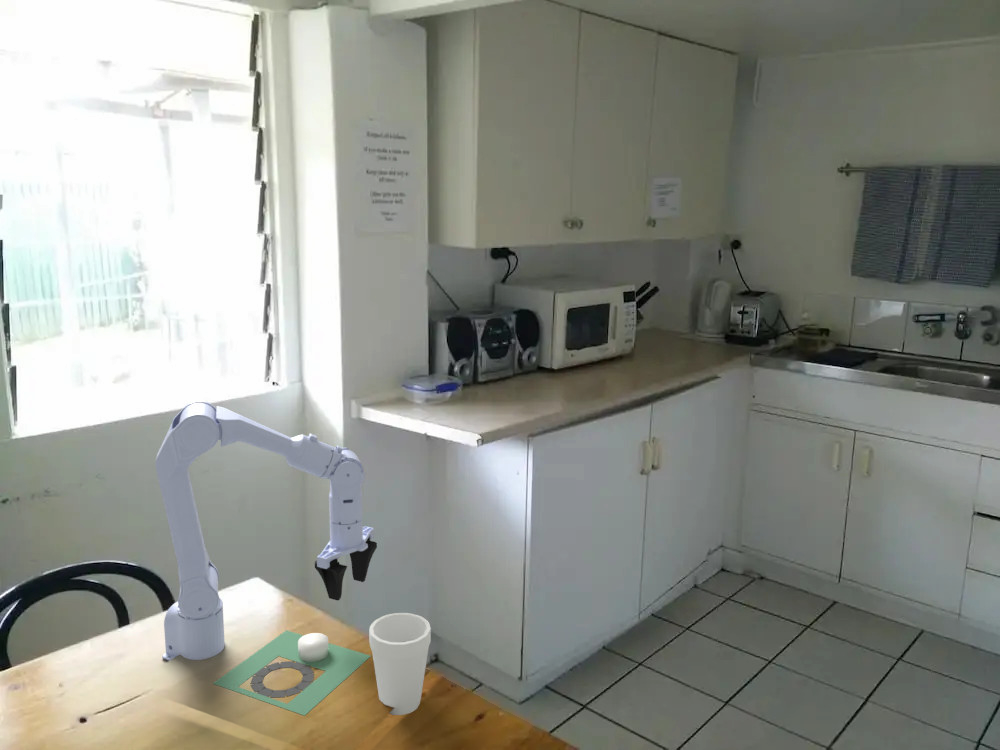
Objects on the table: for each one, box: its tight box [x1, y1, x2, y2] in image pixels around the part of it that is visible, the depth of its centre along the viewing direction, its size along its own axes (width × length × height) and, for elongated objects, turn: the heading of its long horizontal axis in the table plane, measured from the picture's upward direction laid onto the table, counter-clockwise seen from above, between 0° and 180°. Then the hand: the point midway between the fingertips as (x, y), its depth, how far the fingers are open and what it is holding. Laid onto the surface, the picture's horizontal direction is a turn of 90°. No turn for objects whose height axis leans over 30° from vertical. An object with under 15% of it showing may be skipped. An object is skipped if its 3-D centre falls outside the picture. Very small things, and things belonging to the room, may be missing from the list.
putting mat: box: [212, 629, 372, 717], centre depth 132 cm, size 18×18×2 cm
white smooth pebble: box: [298, 632, 329, 662], centre depth 136 cm, size 5×5×2 cm
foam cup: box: [368, 612, 432, 716], centre depth 125 cm, size 10×9×13 cm
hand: (347, 589), depth 144 cm, fingers open, 7 cm apart
